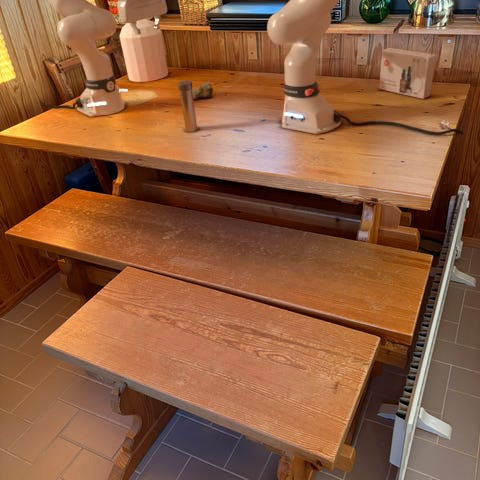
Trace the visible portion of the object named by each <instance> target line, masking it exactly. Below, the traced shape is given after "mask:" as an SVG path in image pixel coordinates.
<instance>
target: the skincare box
mask: <svg viewBox="0 0 480 480" xmlns="http://www.w3.org/2000/svg"><path fill="white" fill-rule="evenodd" d="M436 57H437V54H435V53H427V52H423V51H422V52H420V51H413V50H407V49H400V48H395V47H394V48H393V47H387V48H385V49H382V50H381V61H380V74H379V86H378V87H379V88H378V89H379V90H383V91H387V92H391V93H395V94H399V95H405V96H409V97H414V98H418V99H422V100H424V99H426V98H428V97H430V96H431V91H432V86H433V85H432V84H433V78H434V73H435V72H434V71H435V70H434V69H435V64H436Z"/></svg>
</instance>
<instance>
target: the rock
mask: <svg viewBox="0 0 480 480" xmlns="http://www.w3.org/2000/svg"><path fill="white" fill-rule="evenodd" d="M192 93H193V100H198V99H199V100H200V99H208V98H211V96H212V95H213V93H214V88H213V86H212V84H211V82H209V81H206V82H203V84H200V85H199V87H197V88H192Z"/></svg>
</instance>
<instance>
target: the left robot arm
mask: <svg viewBox="0 0 480 480" xmlns="http://www.w3.org/2000/svg"><path fill="white" fill-rule="evenodd" d="M46 1H47V3H48V4H49V5H50V6H51V7H52V8H53V10H54V11H55V12H56V13H57V14H58V15H60V17H61V16H62V17H64V18H61V19H60V20H59V21H58V22H57V25H56V32H57V33H56V34H57V36H58V38H59V40H60V41H61V42H62V43H63V44H64V46H67V47H69V48H70V49H72V50H73V51H74V52H75V54H76V55H77V56H78V58H79V60H80V62H81V63H82V68H83V70H84V74H85V79H84V82H83V83H85V89H84V91H83V92H82V93H81V95H80V96H79V97H78V98H77V99H76V100H75V102H73V103H72V106H71V105H67V104H61V105H54V104H49V103H48V104H46V105H45V106H44V109H47V108H49V107H50V108H52V109H61V108H67V109H71V110H74V109H77V111H78V112H80V113H82V114H84V115H86V116H88V117H91V118H92V117H93V118H94V117H98V116H107V115H109V116H110V115H113V114H116V113H119V112H121V111H123V110H124V109H125V108H126V106H125V105H126V101H125V100H123V95H122V93H121V92H128V89H127V88H126V89H125V88H120V87H119V86H118V85H117V81H116V76H115V74H114V72H113V68H112V63H111V60H110V57H109V55H108V54H107V53H105V52H104V51H102V50H99V49H98V47H97V45H96V42H98V41H101V40H105V39H107V38H109V37H110V36H112V35H113V34H115V33H116V31H117V21H116V20H117V19H116V18H115V16H114V15H113V13H112V12H111V11H110V10H108V9H104V8H101V7H99V6H97V5H95V4H93V3H92V2H90V1H88V0H46ZM117 12H118V13H117V14H118V16H119V17H118V18H119V21H120V22H121V23H122V24H126V23H130V25H131V27H132V28H133V29H134V32H135V35H139V34H141V32H140V29H138V28H137V26H136V25H137V22H136V21H139V20H143V19H150V18H154V23H155V24H153V26H154V29H156V30H157V29H160V30H161V26H160V22H161V19H162V17H161V15H166V14H167V12H168V6H167V2H166V0H117Z"/></svg>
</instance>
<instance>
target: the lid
mask: <svg viewBox="0 0 480 480" xmlns="http://www.w3.org/2000/svg"><path fill="white" fill-rule="evenodd" d="M177 88H178V90H181V91H185V90H190V89H193V81H191V80H187V79H186V80H181V81H178V82H177Z"/></svg>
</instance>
